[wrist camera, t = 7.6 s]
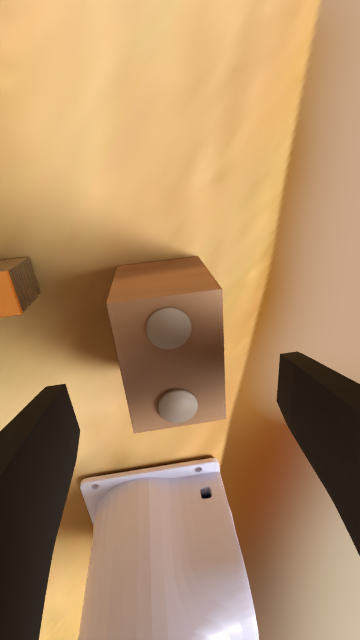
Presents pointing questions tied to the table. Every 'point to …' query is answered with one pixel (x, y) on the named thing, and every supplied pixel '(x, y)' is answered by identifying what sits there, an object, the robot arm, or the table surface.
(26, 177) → the table surface
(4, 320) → the table surface
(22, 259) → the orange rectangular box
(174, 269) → the link block
